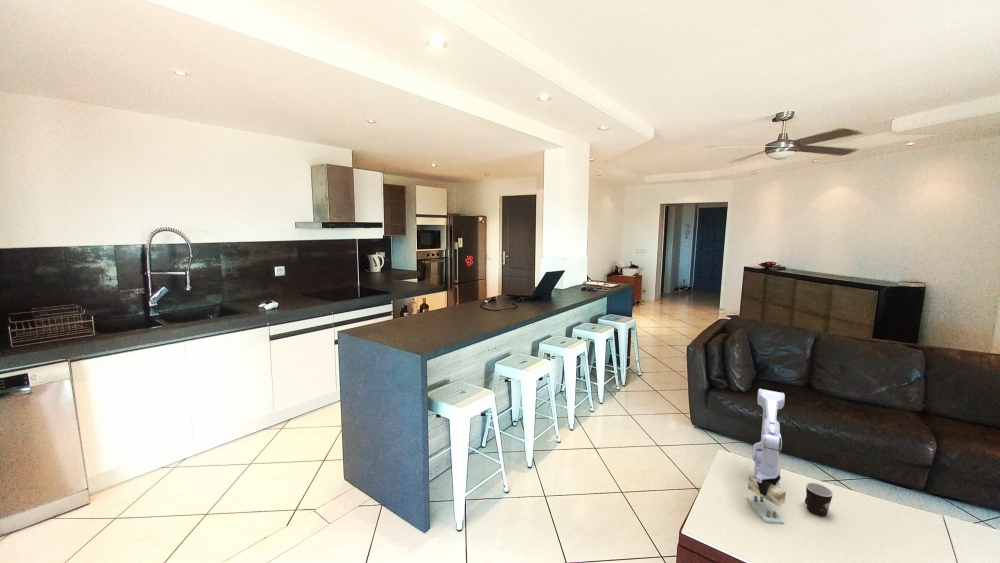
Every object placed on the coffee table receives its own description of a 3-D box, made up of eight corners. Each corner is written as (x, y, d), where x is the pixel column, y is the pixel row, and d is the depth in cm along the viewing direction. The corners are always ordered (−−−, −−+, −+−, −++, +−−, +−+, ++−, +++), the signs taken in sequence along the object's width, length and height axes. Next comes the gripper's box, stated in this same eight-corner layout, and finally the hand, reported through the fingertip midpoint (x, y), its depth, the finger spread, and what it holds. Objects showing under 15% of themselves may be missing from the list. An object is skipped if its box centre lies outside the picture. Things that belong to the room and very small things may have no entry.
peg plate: (746, 498, 170) (747, 492, 170) (763, 499, 170) (764, 493, 169) (765, 522, 157) (766, 516, 156) (783, 524, 156) (784, 517, 156)
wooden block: (784, 502, 158) (785, 491, 157) (778, 506, 156) (779, 495, 155) (753, 485, 169) (754, 474, 168) (747, 488, 167) (748, 478, 166)
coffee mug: (820, 504, 167) (823, 483, 165) (835, 519, 158) (838, 497, 157) (791, 502, 168) (793, 481, 166) (804, 517, 159) (807, 495, 158)
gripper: (768, 452, 167) (765, 481, 169) (749, 462, 160) (746, 492, 162) (787, 461, 161) (783, 491, 163) (767, 471, 154) (764, 502, 156)
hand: (766, 492), depth 162 cm, fingers closed on wooden block, 4 cm apart
